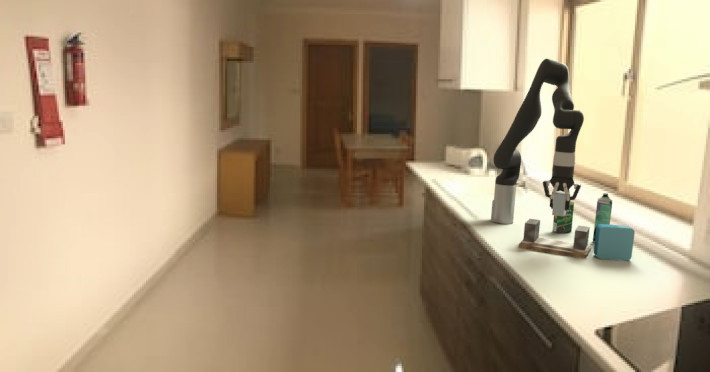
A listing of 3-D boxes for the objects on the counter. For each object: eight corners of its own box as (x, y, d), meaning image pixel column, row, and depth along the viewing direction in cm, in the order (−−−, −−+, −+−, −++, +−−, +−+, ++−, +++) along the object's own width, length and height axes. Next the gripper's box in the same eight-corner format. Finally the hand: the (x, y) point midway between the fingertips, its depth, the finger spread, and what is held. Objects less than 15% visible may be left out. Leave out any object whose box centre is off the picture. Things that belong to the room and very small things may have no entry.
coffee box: (555, 233, 245) (558, 202, 243) (551, 231, 248) (554, 201, 245) (571, 232, 247) (575, 202, 245) (567, 230, 250) (570, 200, 248)
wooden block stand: (518, 247, 220) (520, 223, 218) (526, 239, 232) (528, 217, 230) (586, 258, 209) (588, 233, 207) (590, 249, 221) (593, 226, 219)
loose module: (551, 214, 216) (553, 193, 215) (554, 211, 222) (556, 191, 221) (563, 216, 214) (565, 195, 213) (566, 213, 220) (568, 192, 219)
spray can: (607, 242, 234) (613, 193, 230) (607, 245, 229) (613, 195, 225) (593, 240, 236) (598, 191, 232) (592, 243, 231) (597, 193, 228)
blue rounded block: (626, 257, 213) (631, 225, 211) (631, 261, 208) (635, 228, 206) (592, 255, 214) (596, 223, 212) (596, 258, 210) (600, 226, 208)
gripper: (541, 163, 215) (537, 208, 218) (583, 167, 208) (578, 213, 211) (545, 161, 221) (541, 205, 224) (585, 164, 215) (580, 210, 218)
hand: (559, 209), depth 218 cm, fingers closed on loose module, 4 cm apart
